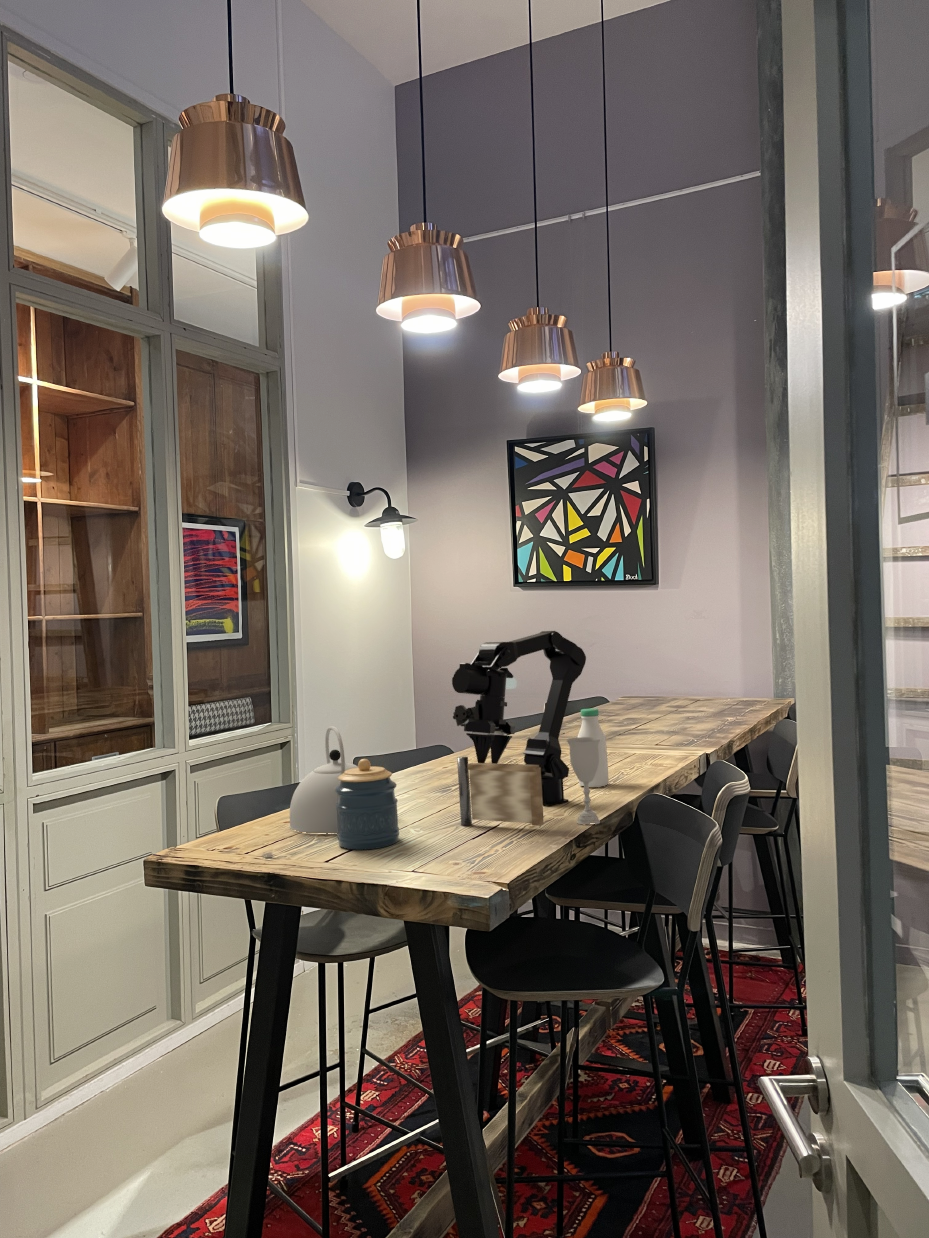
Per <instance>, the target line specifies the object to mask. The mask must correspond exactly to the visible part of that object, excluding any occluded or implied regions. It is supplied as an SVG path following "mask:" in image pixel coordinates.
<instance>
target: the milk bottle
mask: <svg viewBox="0 0 929 1238" xmlns="http://www.w3.org/2000/svg"><path fill="white" fill-rule="evenodd" d="M599 713H600V712H599V709H598V708H583V709H580V716H581V717H580V718H581V726H580V729H579V732H578V734H577V738H581V737H594V738H600V741H599V743H598V749H599V764H598V768H597V771H596V773H595V776H594V778H593V780H592V781H591V782H589V785H588V787H598V788H601V787H600V786H604V787H606V786H605V785H607V784H608V785H609V784H610V783H609V781H610V780H609V763H608V750H607V740H606V736H605V733H604V731H603V730H602V728H601V725H600V722H599ZM578 784H579V786H580V787H581V786H584V783H583V782H581V781H579V780H578ZM608 785H607V786H608Z"/></svg>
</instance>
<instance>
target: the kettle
mask: <svg viewBox="0 0 929 1238" xmlns="http://www.w3.org/2000/svg"><path fill="white" fill-rule="evenodd" d="M331 731H334V733H335V735H336V738H337V741H338V746H339V750H338V749H332V750H331V751H330V742H329V740H330V734H331ZM324 741H325V743H324V745H325V747H324V749H325V756H326V757H325V758H326V764H323V765H321V766H318V767H316V768H315V769H313V770H312V771H311V772H309V773H308V774H306V776H305V777H304V778H303V779H302V780H301V781H300V782H299V784H298V785H297V787H296V789H295V790H294V792H293V794H292V797H291V800H290V805H289V806H290V807H289V829H290V828H291V829H292V830H296V831H299V832H306V833H326V834H328V833H338V823H337V808H336V806H335V805H336V803H337V802H338V794H337V793H336V792H335V788H336V787H337V786H338V785H339V784H340V780H338V777H339V776H340V775H342V774H343V773H344V772H345V771H346V770H348V769H352V768H358V765H356V764H354V763H349V762H345V761H346V760H345V759H346V758H345V749H344V745H343V739H342V736H341V733H340V731H339V729H338V728H337V727H336V726H334V725H332V726H331V725H330V726H328V727H327V729H326V732H325V740H324ZM339 760H340V762H339ZM331 761H332V762H331ZM291 829H290V830H291ZM292 830H291V831H292ZM328 835H329V834H328Z"/></svg>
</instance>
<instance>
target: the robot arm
mask: <svg viewBox="0 0 929 1238" xmlns="http://www.w3.org/2000/svg"><path fill="white" fill-rule="evenodd" d="M542 650H543V655H544V657H545V658H546V659H547V660H549V661H550V663H549V670H550V674H551V677H552V680H551V682H550V683H551V684H550V688H549V692H548V696H547V700H546V703H545V706H544V711H543V714H542V719H541V722H540V726H539V729H538V733H537V735H536V736H534V738H533V737H528V738H527V741H526V745H525V750H524V751H523V755H524V756H523V757H524V759H523V762H524V764H527V765H539V767H541V783H542V800H543V806H548V807H550V806H555V805H559V804H563V803H568V802H569V799H568V798H565V793H564V791H565V790H564V779H565V778H568V777H569V773H570V768H569V766H568V765H567V764H566V763H565V762H564V760H563V759H562V747H561V744H560V740H559V737H560V734H561V733H560V732H561V730H562V726H563V722H564V718H565V714H566V710H567V707H568V702H569V698H570V694H571V690H572V685H573V684H574V682H575V681H576V680H577V679H578V678H579V677H580V676H581V675H582V672H583V670H584V667H585V665H586V661H587V656H586V653H585V652H584V650H583V648H581V646H580V647H579V646H578V645H577V644H576V643H575V642H573V641H571V640H569V639H568V638H566V637H564V636H563V635H562V634H560V632H558V631H556V630H544V631H540V632H538V633H535V634H532V635H528V636H523V637H521V638H518V639H513V640H510V641H494V642H493V641H489V642H484V643H482V644H481V645H480V648H479V651H478V652H477V654H475V656H474V657H473V660H472V661H471V662H460V663H459V668H457V670H456V671H455V672H454V674H453V676H452V677H451V678H452V679H451V684H452V688H453V690H454V692H455V693H457V694H464V695H465V694H466V695H476V696H479V699H476V700H475V705H474V706H472V707H466V706H465V705H464V704H460V705H457V706H455V707H454V712H453V716H452V719H453V720H455V722H456V726H457V727H459V726H461V727H463V732H466V736H468V737H469V738H470V739H471V740H472V742H473V744H474V751H475V755H476V760H477V761H476V762H477V763H486V760H487V759H488V755H489V752H490V761H491V763H496V764H499V761H500V760H501V757H502V755H503V754H504V752H505V750H506V749H507V746H508V744H509V743H510V740H511V739H512V738H513V735H515V730H516V729H515V727H516V726H515V724H513V722H510V721H507V720H506V719H505V718H504V715H505V707H508V702H507V701H506V688H507V687H506V686H507V679H513V678H514V674H513V673H511V672H510V670H509V668H508V667H509V666H510V665H512V664H514V663H516V662H517V661H518V659H519V658H521V657H522V656H523V657H524V656H526V655H527V656H528V655H530V654H533V653H537V652H540V651H542ZM468 732H469V733H468Z"/></svg>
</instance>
